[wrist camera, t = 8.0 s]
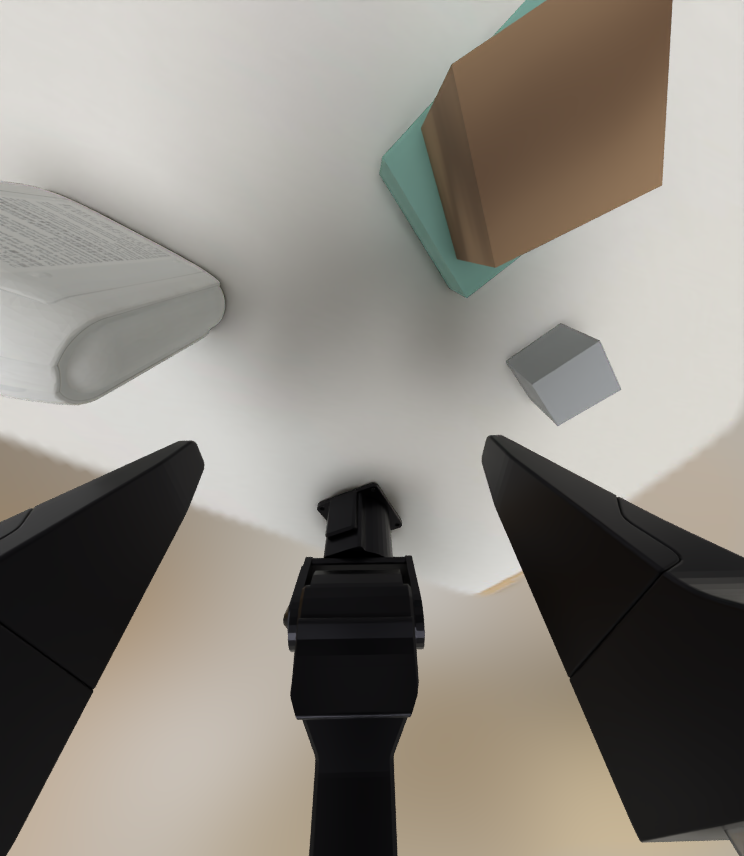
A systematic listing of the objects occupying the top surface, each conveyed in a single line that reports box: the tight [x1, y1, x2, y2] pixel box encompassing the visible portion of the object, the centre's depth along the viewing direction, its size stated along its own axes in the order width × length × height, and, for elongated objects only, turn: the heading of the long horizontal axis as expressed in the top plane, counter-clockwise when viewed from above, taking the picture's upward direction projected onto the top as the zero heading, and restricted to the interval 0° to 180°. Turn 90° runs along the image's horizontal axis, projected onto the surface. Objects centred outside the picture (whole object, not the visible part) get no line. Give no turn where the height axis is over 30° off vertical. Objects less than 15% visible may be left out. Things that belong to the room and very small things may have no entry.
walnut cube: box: [421, 0, 672, 268], centre depth 10 cm, size 5×5×5 cm
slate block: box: [506, 323, 621, 426], centre depth 19 cm, size 4×4×4 cm
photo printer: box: [0, 181, 225, 405], centre depth 12 cm, size 10×4×12 cm, turn 62°
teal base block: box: [379, 0, 546, 298], centre depth 14 cm, size 7×7×4 cm
